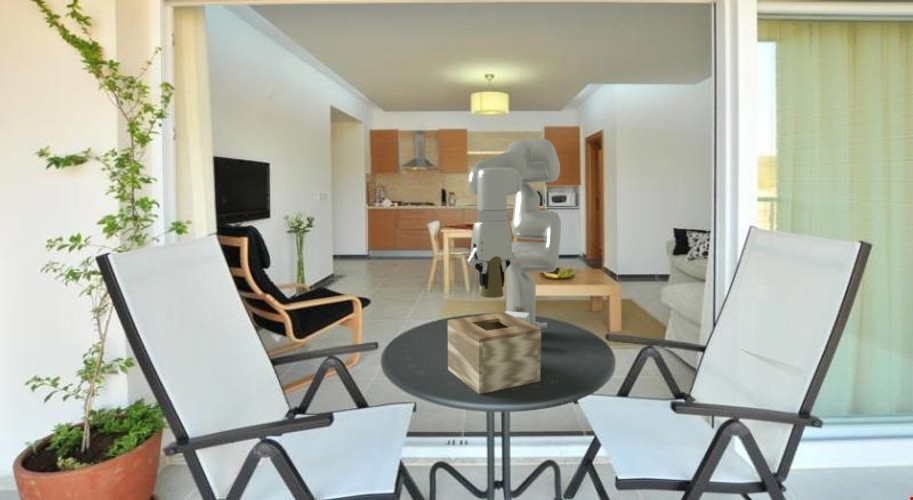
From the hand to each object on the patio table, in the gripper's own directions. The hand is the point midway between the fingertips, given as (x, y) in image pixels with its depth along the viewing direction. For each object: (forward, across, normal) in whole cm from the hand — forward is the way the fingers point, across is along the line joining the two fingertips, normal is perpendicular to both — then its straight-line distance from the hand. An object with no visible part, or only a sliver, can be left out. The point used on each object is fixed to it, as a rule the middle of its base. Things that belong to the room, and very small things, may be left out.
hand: (492, 286), depth 132 cm
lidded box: (+24, 0, 0) cm, 24 cm away
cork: (+2, 0, 0) cm, 2 cm away
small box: (+24, -18, -17) cm, 35 cm away
